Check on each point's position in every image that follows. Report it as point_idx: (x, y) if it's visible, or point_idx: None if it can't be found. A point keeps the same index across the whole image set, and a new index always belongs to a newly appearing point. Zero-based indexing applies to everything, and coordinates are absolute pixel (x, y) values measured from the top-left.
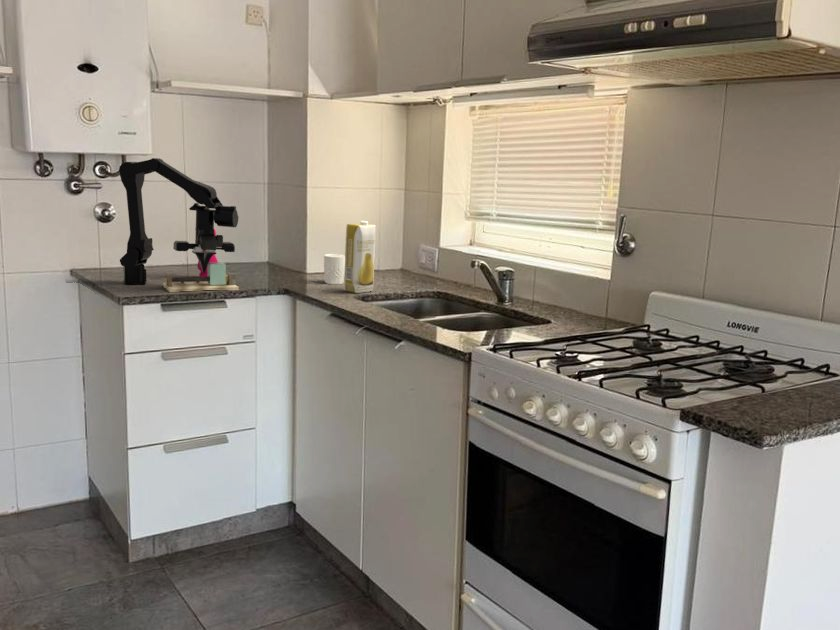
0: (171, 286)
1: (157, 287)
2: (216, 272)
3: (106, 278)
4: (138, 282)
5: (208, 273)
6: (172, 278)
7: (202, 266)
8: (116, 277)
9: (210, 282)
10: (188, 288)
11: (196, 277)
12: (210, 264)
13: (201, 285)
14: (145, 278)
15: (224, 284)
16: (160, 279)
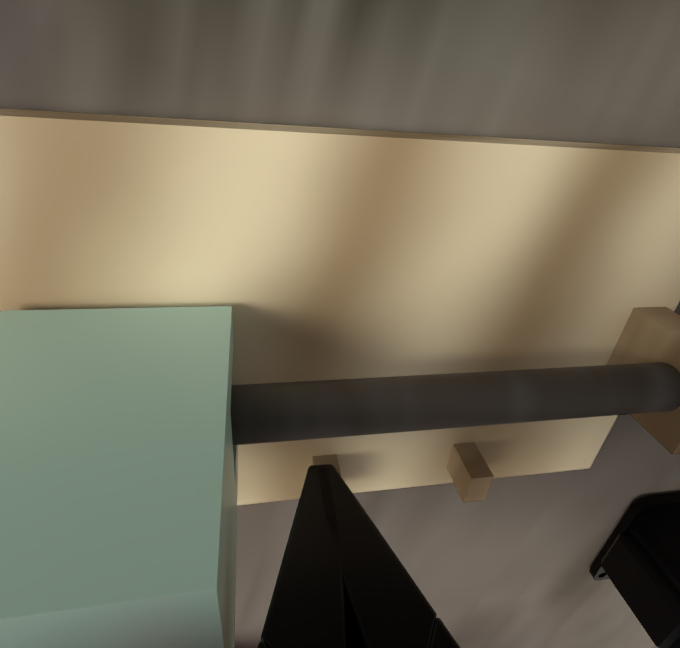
0: (641, 307)
1: None
2: (96, 433)
3: None
4: (677, 510)
5: (234, 495)
6: (675, 385)
7: (381, 549)
8: (619, 637)
9: (229, 325)
10: (556, 156)
11: (410, 410)
12: (213, 587)
13: (330, 339)
14: (641, 552)
15: (20, 310)
16: (465, 621)
